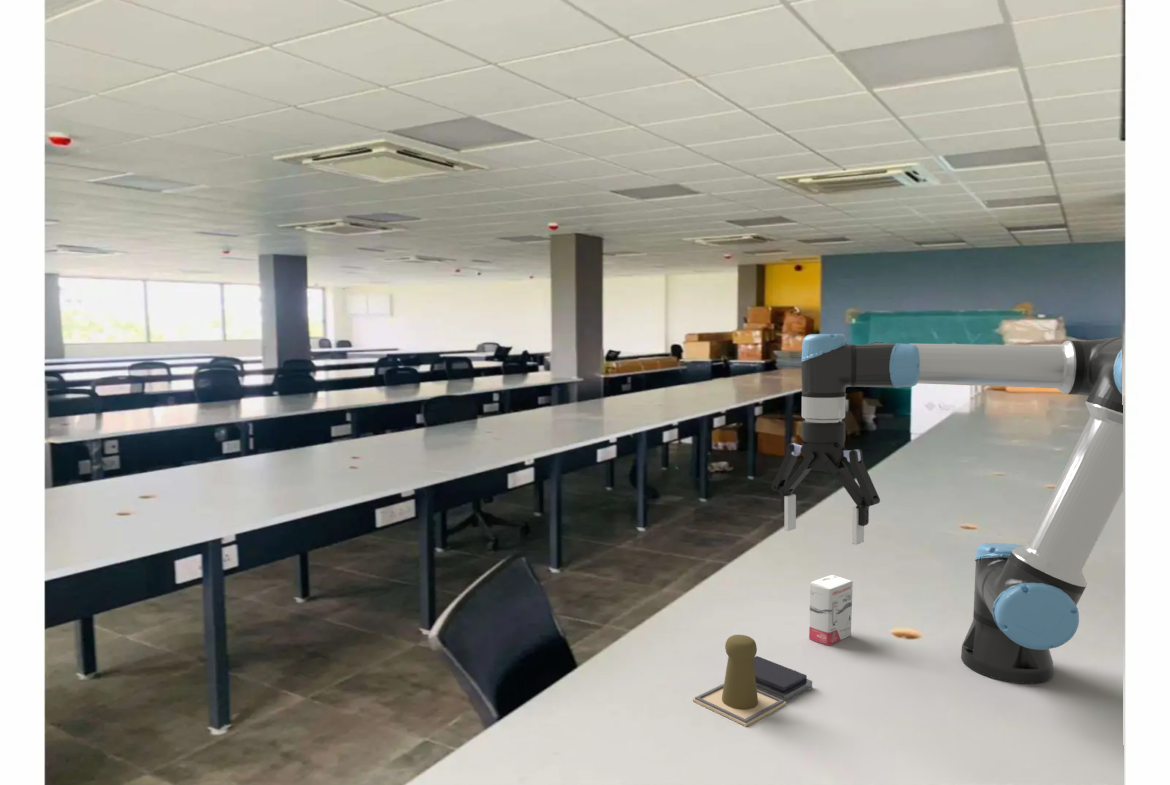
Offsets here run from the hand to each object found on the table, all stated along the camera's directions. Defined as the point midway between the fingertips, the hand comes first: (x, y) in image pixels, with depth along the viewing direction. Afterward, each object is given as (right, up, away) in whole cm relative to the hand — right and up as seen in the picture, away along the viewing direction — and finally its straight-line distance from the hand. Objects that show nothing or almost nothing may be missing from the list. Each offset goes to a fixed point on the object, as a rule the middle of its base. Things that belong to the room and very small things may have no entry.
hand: (822, 536), depth 139 cm
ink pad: (-10, -26, -2) cm, 28 cm away
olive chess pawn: (-17, -26, -10) cm, 33 cm away
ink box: (+7, -24, +18) cm, 31 cm away
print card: (-17, -26, -10) cm, 33 cm away
